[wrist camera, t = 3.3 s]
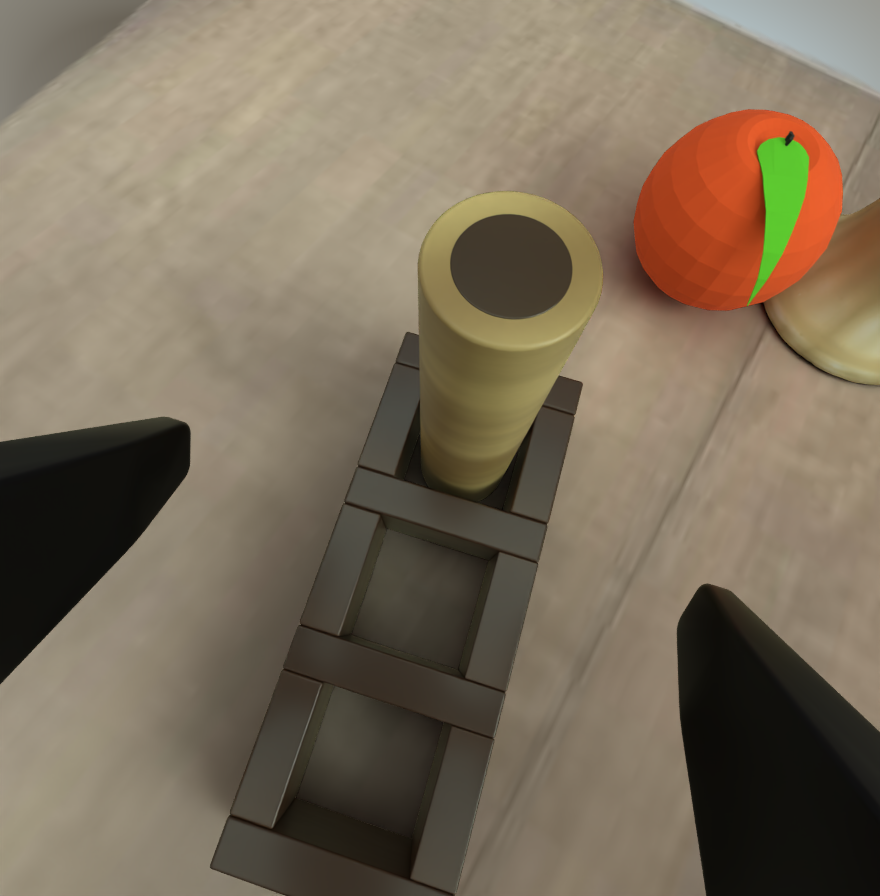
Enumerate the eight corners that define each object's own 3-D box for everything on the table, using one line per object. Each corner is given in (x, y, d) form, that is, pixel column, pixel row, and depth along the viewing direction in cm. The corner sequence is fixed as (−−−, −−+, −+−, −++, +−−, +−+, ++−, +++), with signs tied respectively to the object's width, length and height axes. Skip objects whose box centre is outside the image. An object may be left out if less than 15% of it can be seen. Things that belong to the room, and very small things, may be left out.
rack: (438, 898, 17) (441, 953, 14) (243, 828, 18) (207, 869, 15) (563, 412, 22) (584, 381, 19) (408, 367, 23) (406, 329, 20)
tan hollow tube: (519, 480, 21) (641, 301, 9) (445, 519, 21) (474, 380, 9) (478, 411, 22) (543, 163, 10) (406, 446, 22) (384, 229, 10)
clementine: (771, 375, 23) (919, 273, 16) (605, 353, 23) (681, 240, 16) (764, 217, 25) (890, 68, 18) (613, 197, 25) (682, 41, 19)
